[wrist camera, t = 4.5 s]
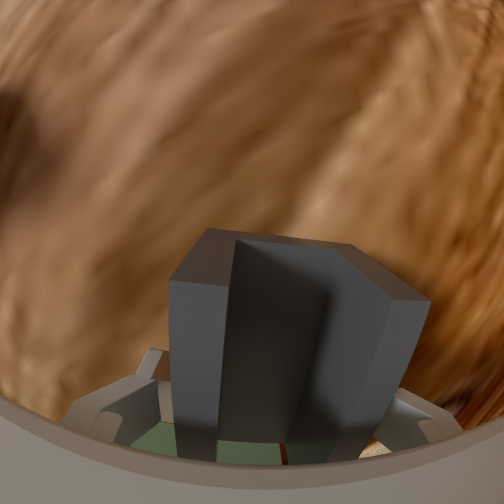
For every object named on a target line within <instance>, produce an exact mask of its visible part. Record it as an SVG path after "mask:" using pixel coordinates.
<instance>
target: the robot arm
mask: <svg viewBox="0 0 504 504" xmlns="http://www.w3.org/2000/svg"><path fill="white" fill-rule="evenodd" d="M160 420H164V421H170V422H174V420H173V408H172V394H171V378H170V356H169V351H164V350H159V349H154V348H150V349H148V351H147V353H146V355H145V357H144V359H143V360H142V362H141V364H140V366H139V368H138V370H137V372H136V374H135V375H129V376H127V377H125V378H123V379H120V380H118V381H116V382H114V383H112V384H110V385H107V386H105V387H103V388H101V389H99V390H96V391H94V392H92V393H90V394H87V395H85V396H83V397H80V398H78V399H76V400H75V401H74V402H73V404H72V405H71V407H70V408H69V410H68V412H67V413H66V415H65V416H64V418H63V419H62V421H61V422H60V423H58V422H55V421H53V420H51V419H49V418H46V417H44V416H42V415H40V414H38V413H36V412H34V411H31V410H29V409H27V408H25V407H24V406H22V405H20V404H18V403H16V402H14V401H12V400H10V399H9V398H7V397H5V396H3V395H2V394H0V504H504V414H503V415H501V416H499V417H497V418H494V419H492V420H490V421H488V422H485V423H483V424H481V425H478V426H476V427H474V428H471V429H469V430H466V431H463V429H462V428H461V427H460V425H459V424H458V422H457V421H456V420H455V418H454V417H453V416H452V414H451V413H450V412H448V411H446V410H444V409H442V408H440V407H438V406H436V405H434V404H432V403H430V402H428V401H426V400H424V399H423V398H421V397H419V396H417V395H415V394H413V393H411V392H409V391H407V390H405V389H404V388H397V390H396V393H395V395H394V397H393V399H392V401H391V403H390V404H389V406H388V408H387V410H386V412H385V414H384V416H383V418H382V419H381V421H380V423H379V425H378V427H377V428H376V430H375V432H374V434H373V435H372V436H373V437H375V438H376V439H377V440H378V441H379V442H381V443H382V444H383V445H384V446H385V447H387V448H388V449H389V450H390V451H391V452H392V453H388V454H383V455H378V456H372V457H366V458H360V459H353V460H346V461H338V462H328V463H317V464H300V465H247V464H230V463H219V462H209V461H201V460H193V459H186V458H180V457H174V456H169V455H164V454H159V453H154V452H149V451H145V450H141V449H136V448H132V447H131V446H130V445H131V444H133V443H134V442H135V441H136V440H138V439H139V438H140V437H142V436H143V435H144V434H145V433H147V432H148V431H149V430H150V429H152V428H153V427H154V426H155V425H157V424H158V423H159V422H160Z"/></svg>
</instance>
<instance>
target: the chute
mask: <svg viewBox="0 0 504 504" xmlns="http://www.w3.org/2000/svg"><path fill="white" fill-rule="evenodd" d="M431 302H432V301H431V300H429V299H428V298H427V297H425V296H424V295H423V294H421V293H420V292H419V291H417V290H416V289H415V288H413V287H412V286H410V285H409V284H408V283H406V282H405V281H403V280H402V279H401V278H399V277H398V276H396V275H395V274H394V273H392V272H391V271H389V270H388V269H387V268H385V267H384V266H382V265H381V264H379V263H378V262H376V261H375V260H374V259H372V258H371V257H369V256H368V255H366V254H365V253H363V252H362V251H360V250H359V249H357V248H356V247H354V246H353V245H351V244H343V243H335V242H326V241H318V240H310V239H301V238H293V237H284V236H275V235H266V234H257V233H248V232H239V231H229V230H220V229H210V228H207V229H206V231H205V232H204V233H203V235H202V236H201V237H200V238H199V240H198V241H197V242H196V244H195V245H194V246H193V248H192V249H191V250H190V252H189V253H188V254H187V256H186V257H185V259H184V260H183V261H182V263H181V264H180V265H179V267H178V268H177V269H176V271H175V272H174V274H173V275H172V276H171V278H170V279H169V356H170V378H171V394H172V408H173V420H174V430H175V440H176V449H177V457H180V458H186V459H193V460H201V461H209V462H216V461H217V449H218V440H221V441H233V442H249V443H285V445H286V452H287V459H288V465H300V464H317V463H328V462H338V461H346V460H353V459H358V458H359V456H360V455H361V453H362V451H363V450H364V448H365V447H366V445H367V443H368V442H369V440H370V439H371V437H372V435H373V434H374V432H375V430H376V428H377V427H378V425H379V423H380V421H381V419H382V418H383V416H384V414H385V412H386V410H387V408H388V406H389V404H390V403H391V401H392V399H393V397H394V395H395V393H396V390H397V388H398V386H399V384H400V382H401V380H402V378H403V376H404V373H405V371H406V369H407V367H408V364H409V362H410V359H411V357H412V355H413V352H414V350H415V347H416V345H417V342H418V339H419V337H420V334H421V331H422V329H423V326H424V323H425V320H426V317H427V314H428V311H429V308H430V305H431Z"/></svg>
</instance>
